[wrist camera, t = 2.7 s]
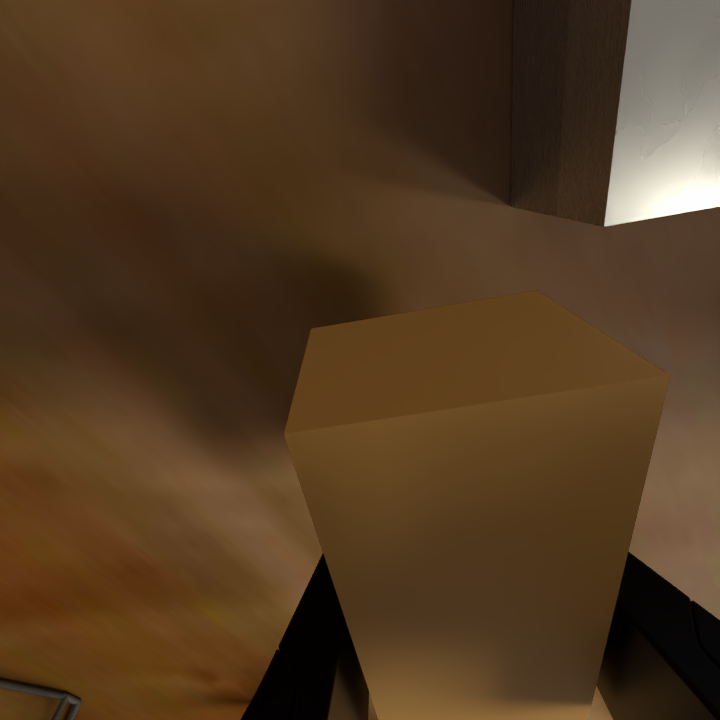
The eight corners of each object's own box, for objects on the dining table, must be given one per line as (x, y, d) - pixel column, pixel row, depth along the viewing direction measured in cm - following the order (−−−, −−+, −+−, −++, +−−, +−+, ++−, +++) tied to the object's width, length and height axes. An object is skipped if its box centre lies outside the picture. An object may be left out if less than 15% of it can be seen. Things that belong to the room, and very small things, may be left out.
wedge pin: (471, 248, 10) (671, 375, 4) (480, 525, 15) (573, 779, 9) (325, 273, 10) (283, 434, 4) (382, 538, 15) (403, 795, 9)
